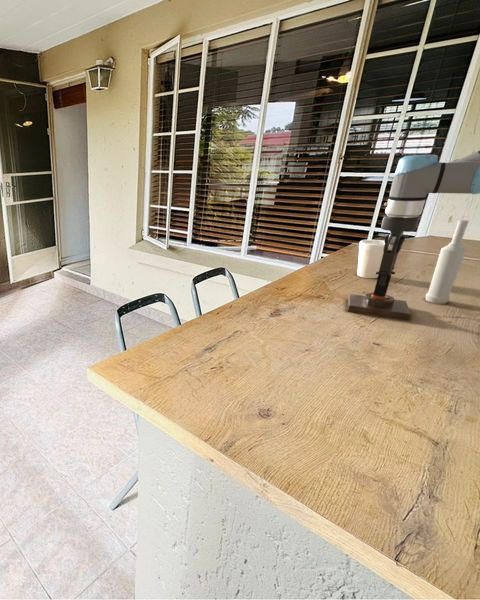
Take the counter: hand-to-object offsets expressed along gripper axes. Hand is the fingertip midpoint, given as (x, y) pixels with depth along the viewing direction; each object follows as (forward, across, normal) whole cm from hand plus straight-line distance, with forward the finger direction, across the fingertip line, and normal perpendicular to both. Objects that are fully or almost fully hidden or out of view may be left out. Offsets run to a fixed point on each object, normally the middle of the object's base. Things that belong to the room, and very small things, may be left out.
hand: (379, 294), depth 105 cm
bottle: (+5, -18, +12) cm, 22 cm away
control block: (+5, 0, 0) cm, 5 cm away
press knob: (+2, 0, 0) cm, 2 cm away
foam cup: (+5, -35, -8) cm, 36 cm away
